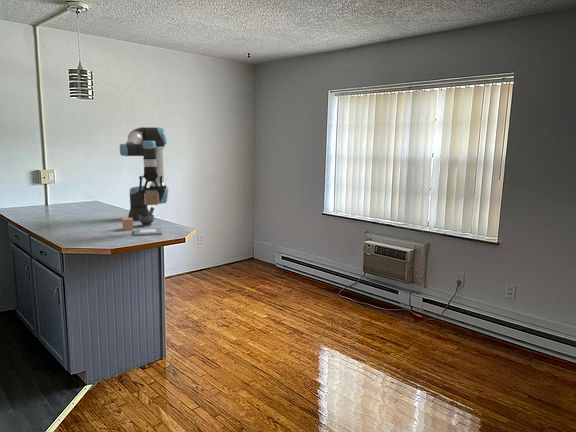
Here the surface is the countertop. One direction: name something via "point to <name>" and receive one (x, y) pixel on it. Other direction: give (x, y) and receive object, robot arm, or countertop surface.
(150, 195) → the walnut block
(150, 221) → the mortar and pestle
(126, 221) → the terracotta block
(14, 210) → the countertop surface
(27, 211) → the countertop surface
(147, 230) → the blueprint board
